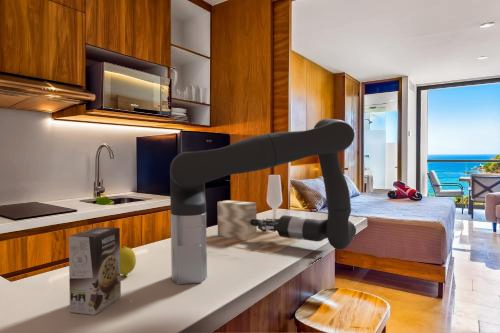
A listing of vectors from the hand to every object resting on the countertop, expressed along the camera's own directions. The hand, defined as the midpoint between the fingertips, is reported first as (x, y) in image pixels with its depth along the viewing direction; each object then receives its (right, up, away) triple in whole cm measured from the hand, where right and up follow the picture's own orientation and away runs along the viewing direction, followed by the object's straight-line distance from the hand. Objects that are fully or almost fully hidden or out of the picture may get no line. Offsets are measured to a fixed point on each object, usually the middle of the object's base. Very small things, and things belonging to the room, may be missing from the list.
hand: (252, 222), depth 122 cm
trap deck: (0, -8, 0) cm, 8 cm away
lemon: (-34, -9, -33) cm, 49 cm away
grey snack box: (-34, -10, -50) cm, 61 cm away
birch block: (-6, -6, +4) cm, 9 cm away
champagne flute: (+10, -7, +18) cm, 21 cm away
